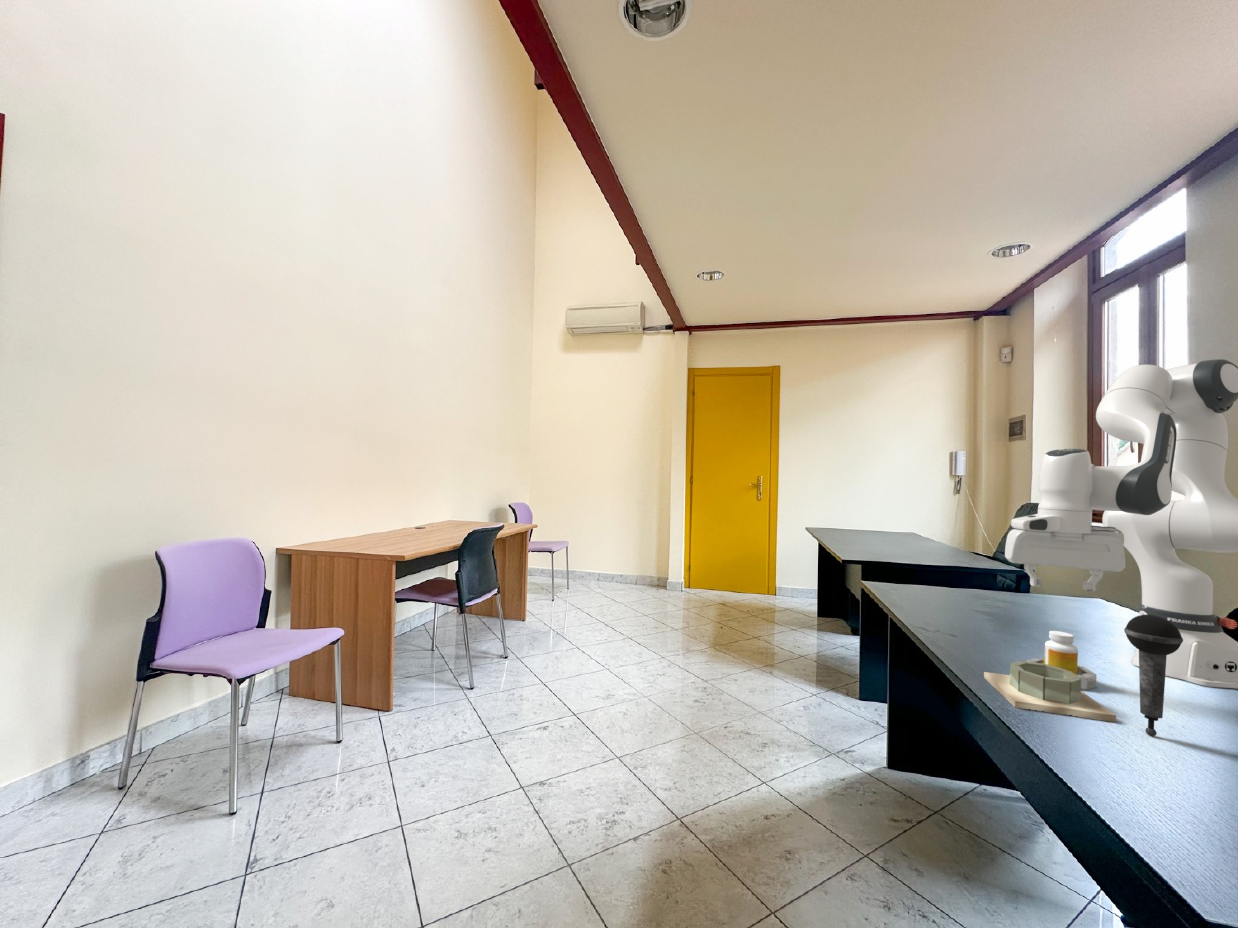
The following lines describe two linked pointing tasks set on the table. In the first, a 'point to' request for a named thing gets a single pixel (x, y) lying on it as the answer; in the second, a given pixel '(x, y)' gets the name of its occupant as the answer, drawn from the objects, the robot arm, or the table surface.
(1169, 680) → the table surface
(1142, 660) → the microphone
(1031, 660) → the holder ring
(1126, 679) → the table surface
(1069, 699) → the socket board
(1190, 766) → the table surface
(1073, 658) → the supplement bottle
